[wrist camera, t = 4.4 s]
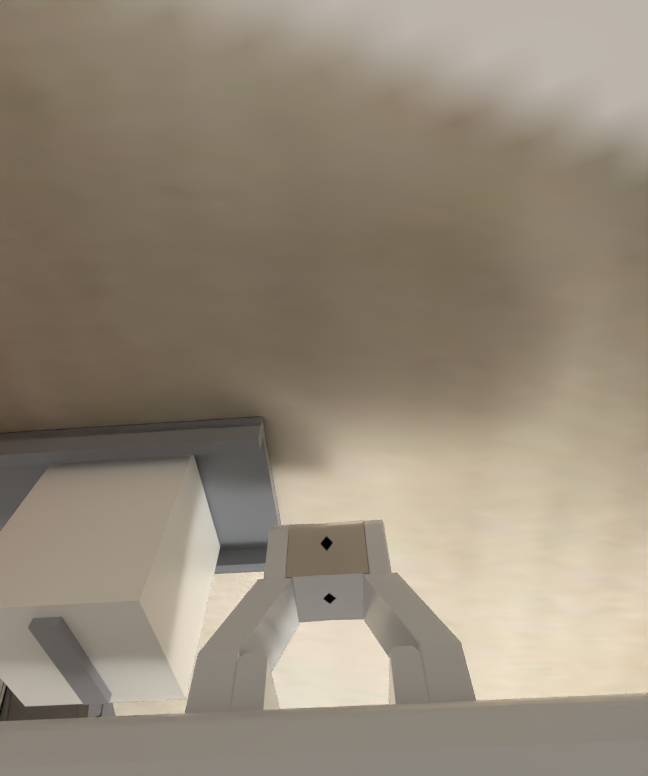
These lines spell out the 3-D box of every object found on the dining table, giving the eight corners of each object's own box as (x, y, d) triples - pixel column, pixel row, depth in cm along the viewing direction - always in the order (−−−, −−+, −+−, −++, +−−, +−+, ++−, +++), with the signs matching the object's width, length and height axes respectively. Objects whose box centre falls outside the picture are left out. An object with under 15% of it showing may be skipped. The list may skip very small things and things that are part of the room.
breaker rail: (262, 416, 13) (253, 465, 11) (284, 545, 16) (280, 598, 14) (-186, 445, 13) (-260, 495, 12) (-84, 565, 16) (-132, 619, 14)
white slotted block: (192, 451, 13) (135, 610, 9) (220, 546, 15) (184, 708, 11) (52, 460, 13) (-66, 620, 9) (99, 553, 15) (21, 715, 11)
